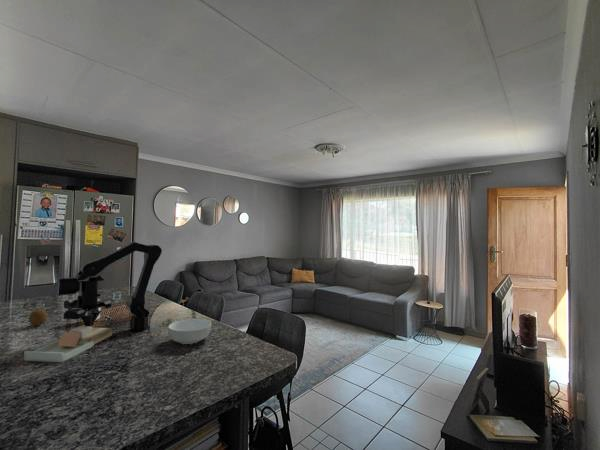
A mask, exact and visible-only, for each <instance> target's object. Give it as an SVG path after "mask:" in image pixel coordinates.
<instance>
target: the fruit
mask: <svg viewBox="0 0 600 450" xmlns="http://www.w3.org/2000/svg"><path fill="white" fill-rule="evenodd" d="M47 317H48V315H47V312H46V311H45V310H44V309H40V308H37V309H35V310H33V311H31V312H30V314H29V317H28V321H29V323H30V325H31V326H35V327H39V326H41V325H43V324H45V322H46V321H47Z"/></svg>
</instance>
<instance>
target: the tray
mask: <svg viewBox="0 0 600 450" xmlns="http://www.w3.org/2000/svg"><path fill="white" fill-rule="evenodd" d="M59 341H60V339H58V340H56V341H53V342H51V343H48V344H46V345H44V346H42V347H39V348H37V349H35V350H26V351H23V352H24V353H23V356H24V357H23V360H24V361H27V362H28V361H29V362H46V363H47V362H48V363H49V362H50V363H53V362H54V363H63V362H64V363H65V362H66V361H68V360H70V359H71V358H73V357H75V356H77V355H79V354H81V353H83V352H84V351H87V350H88V349H91V348H93V347H94V345H95V344H94V341H90V342H78V343H77V345H76V347H61V346H57V345H58V343H59Z"/></svg>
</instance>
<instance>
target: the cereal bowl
mask: <svg viewBox="0 0 600 450" xmlns="http://www.w3.org/2000/svg"><path fill="white" fill-rule="evenodd" d="M167 329H168V330H167V331H168V333H167V334H168V336H169V337H170V339H171V340H172V341H174V342H176V343H180V344H181V345H184V344H185V345H186V344H190V345H194V344H193V343H195V344H197V343H199V342H200V341H202V340H204V339H206V338H207V337H208V336H209V335H210V332H211V331H212V322H211V321H210V320H209V319H205V318H188V319H182V320H177V321H174V322H172V323H170V324H169V325H168V328H167Z"/></svg>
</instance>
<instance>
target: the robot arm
mask: <svg viewBox="0 0 600 450" xmlns="http://www.w3.org/2000/svg"><path fill="white" fill-rule="evenodd" d="M162 251H163V249H162V247H160V246H159V245H157V244H148V245H147V244H143V243H139V242H137V241H131V242H129V243H128V244H125V245H123V246H122V247H120V248H118V249H115V251H112V252H111V253H108V254H106V255H103V256H102V257H101V256H100V257H99V258H94V259H92V260H89V261H85V262H84V263H83V264H82V265H81V267H80V270H79V272H77V274H76V275H75V276H74V277H59V278H58V285H57V292H56V293H57V296H58V297H60V296H68V295H76V294H77V293H78V292H80V295H78V296H77V299H74V300H73V299H71V298H70V299H67V300H64V301H63V307H64V309H67V310H65V312H64V313H63V315H62V317H63V319H64V320H79V319H81V321H82V323H83V322H84V323H83V324H84V325H83V326H92V327H93V325H94V324H95V323H96V322H95V320H96V319H97V317H98V315H99V314H100V315H101V313H102V310H101V311H99V309H98V308H100V307H101V308H103V307H104V308H105V309H108V308H112V301H111V300H109V299H108V300H104V299H99V298H98V297H101V293H99V282H103V281H104V280H105V279H104V278H103V277H102V276H101V275H100V274H99V273H101V272H102V271H103V270H105V269H106V268H107V267H108V266H110V265H112V264H113V263H115V262H117V261H119V260H120V259H123V258H124V257H127V256H128V255H130V254H133V253H134V252H139V253H140V252H141V253H143V264H142V265H143V266H142V267H141V270H140V274H139V277H138V280H137V284H136V287H135V289H134V292H133V293H132V295H128V296H127V299H126V300H127V301H126V303H125V306H126V311H128V312H129V313H130V314H131V315H132V316H130V317H131V318H130V320H129V321H130V324H129V329H128V331H129V332H143V331H145V330H147V329H150V327H151V326H150V325H149V315H150V311H149V310H148V309H146V308H145V305H146V298H145V297H146V292H147V289H148V286H149V283H150V279H151V276H152V273H153V269H154V267H155V264H156V263H157V261H159V259H160V257H161V255H162ZM98 299H99V301H98ZM86 309H87V310H86ZM94 322H95V323H94Z"/></svg>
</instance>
